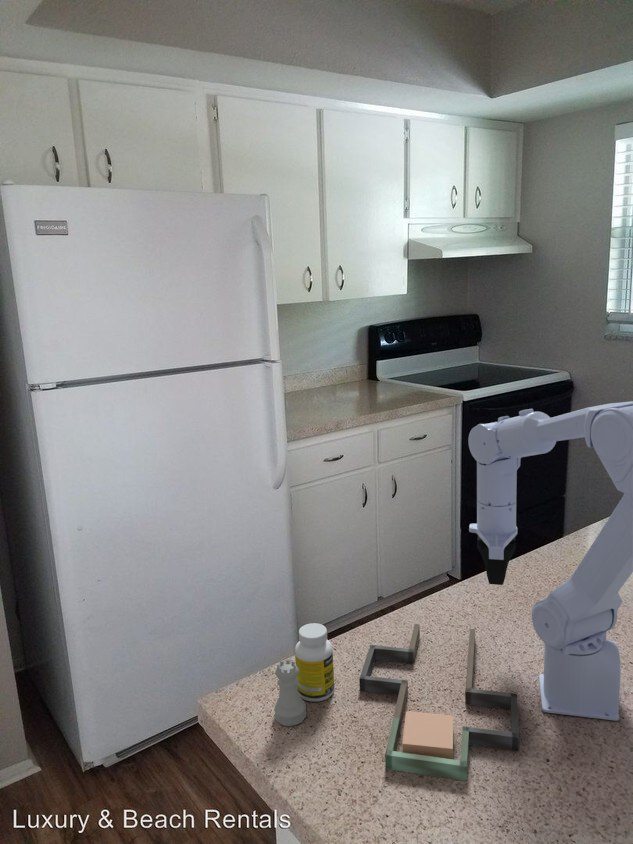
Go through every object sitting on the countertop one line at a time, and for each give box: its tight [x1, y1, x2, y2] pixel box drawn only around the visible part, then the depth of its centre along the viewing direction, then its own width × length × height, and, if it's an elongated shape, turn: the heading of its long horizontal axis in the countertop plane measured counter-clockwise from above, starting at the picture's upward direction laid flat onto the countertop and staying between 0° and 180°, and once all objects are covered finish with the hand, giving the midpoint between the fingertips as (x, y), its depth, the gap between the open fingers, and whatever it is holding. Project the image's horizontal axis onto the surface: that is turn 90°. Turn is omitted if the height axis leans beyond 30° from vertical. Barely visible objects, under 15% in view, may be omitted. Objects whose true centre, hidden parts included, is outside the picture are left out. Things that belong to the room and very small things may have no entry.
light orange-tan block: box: [401, 710, 454, 760], centre depth 81 cm, size 6×6×3 cm
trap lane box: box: [358, 623, 520, 782], centre depth 91 cm, size 22×30×2 cm
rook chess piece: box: [273, 659, 308, 727], centre depth 88 cm, size 4×4×8 cm
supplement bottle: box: [294, 622, 335, 703], centre depth 92 cm, size 5×5×10 cm
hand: (496, 582), depth 100 cm, fingers closed
